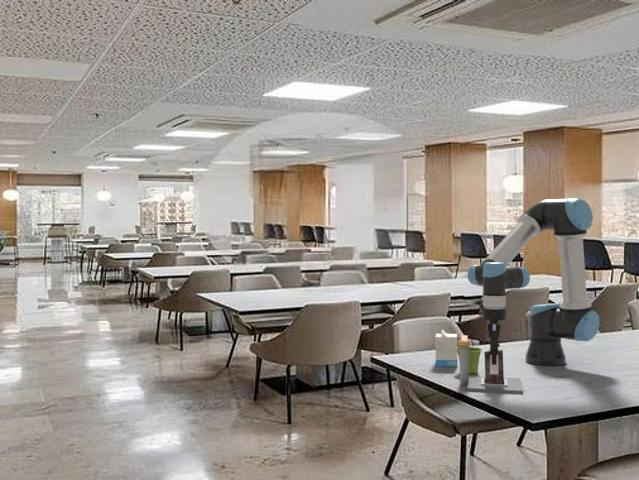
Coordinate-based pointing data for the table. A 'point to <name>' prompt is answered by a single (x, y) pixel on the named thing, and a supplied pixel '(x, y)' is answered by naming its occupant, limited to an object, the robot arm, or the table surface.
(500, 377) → the box
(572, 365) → the table surface
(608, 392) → the table surface
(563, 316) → the robot arm
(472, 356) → the plant pot
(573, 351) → the table surface
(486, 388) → the grey stand
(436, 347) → the milk carton
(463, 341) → the clip
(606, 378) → the table surface
